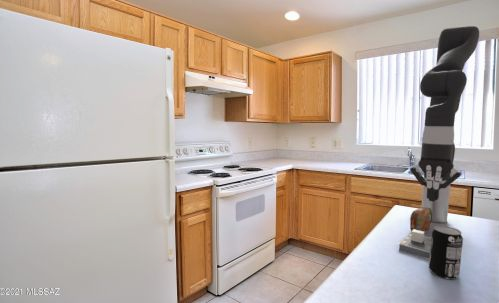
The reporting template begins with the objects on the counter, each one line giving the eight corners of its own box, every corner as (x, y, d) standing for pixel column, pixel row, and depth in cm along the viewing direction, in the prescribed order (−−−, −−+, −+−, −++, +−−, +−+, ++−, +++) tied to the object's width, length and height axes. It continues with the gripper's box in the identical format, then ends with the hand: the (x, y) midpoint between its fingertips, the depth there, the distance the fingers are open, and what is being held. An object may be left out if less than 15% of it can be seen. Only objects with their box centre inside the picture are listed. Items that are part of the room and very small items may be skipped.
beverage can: (430, 264, 77) (433, 223, 76) (459, 272, 73) (464, 229, 72) (427, 274, 72) (430, 229, 71) (458, 283, 68) (463, 236, 67)
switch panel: (409, 238, 95) (410, 232, 95) (452, 249, 87) (453, 242, 87) (398, 250, 86) (399, 243, 86) (445, 263, 78) (446, 256, 77)
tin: (417, 237, 96) (418, 213, 95) (407, 234, 99) (409, 211, 98) (432, 227, 106) (434, 206, 105) (422, 225, 108) (424, 204, 107)
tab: (413, 238, 90) (413, 229, 90) (423, 240, 88) (424, 231, 88) (411, 240, 88) (411, 231, 88) (421, 243, 86) (422, 233, 86)
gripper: (467, 143, 78) (461, 203, 79) (414, 140, 87) (410, 194, 88) (464, 144, 72) (458, 208, 74) (408, 141, 81) (403, 198, 83)
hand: (432, 200), depth 81 cm, fingers closed
